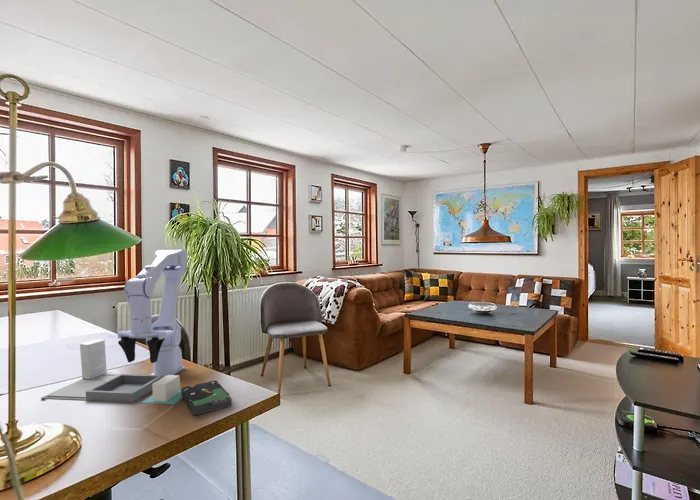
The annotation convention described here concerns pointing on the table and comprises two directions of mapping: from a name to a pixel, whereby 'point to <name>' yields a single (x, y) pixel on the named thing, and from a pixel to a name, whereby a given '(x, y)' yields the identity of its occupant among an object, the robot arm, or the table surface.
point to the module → (166, 388)
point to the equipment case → (108, 389)
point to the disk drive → (205, 397)
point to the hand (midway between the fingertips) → (142, 361)
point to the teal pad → (173, 401)
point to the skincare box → (93, 358)
